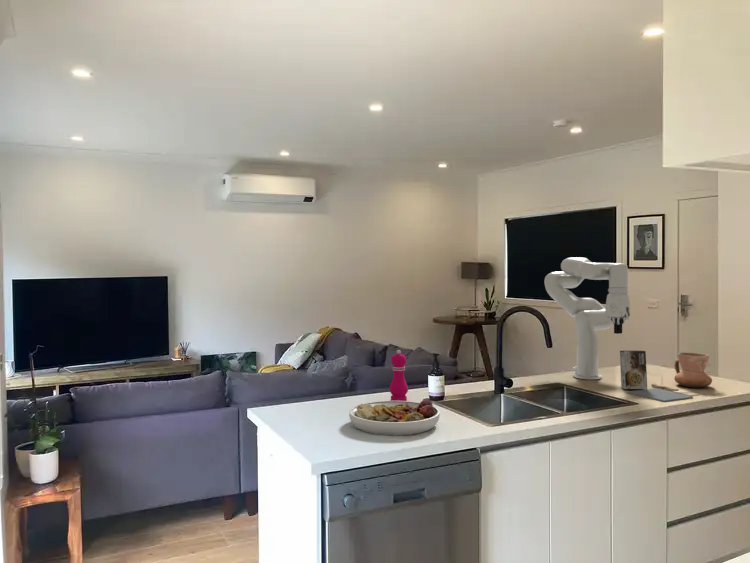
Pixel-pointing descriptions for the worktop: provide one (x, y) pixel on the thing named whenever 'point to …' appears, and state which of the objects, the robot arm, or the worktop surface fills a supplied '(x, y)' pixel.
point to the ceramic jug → (692, 370)
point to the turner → (675, 390)
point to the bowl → (395, 417)
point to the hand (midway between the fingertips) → (618, 333)
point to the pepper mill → (398, 378)
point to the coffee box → (633, 369)
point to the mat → (660, 394)
